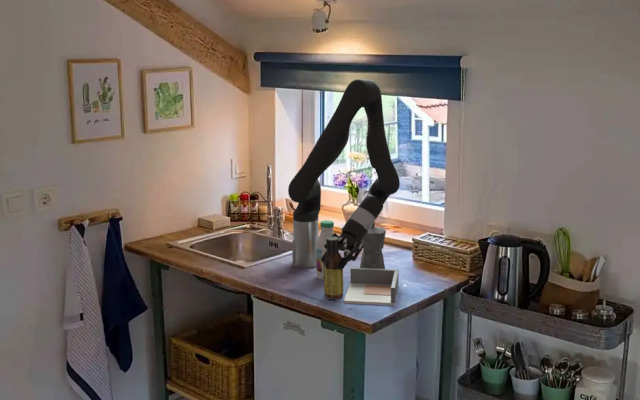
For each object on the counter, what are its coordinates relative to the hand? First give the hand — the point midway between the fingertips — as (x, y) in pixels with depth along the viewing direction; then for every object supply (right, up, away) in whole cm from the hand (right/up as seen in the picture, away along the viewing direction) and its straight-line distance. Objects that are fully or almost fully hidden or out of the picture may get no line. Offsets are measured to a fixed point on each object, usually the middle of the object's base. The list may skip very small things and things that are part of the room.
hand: (330, 265), depth 233 cm
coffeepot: (+15, -4, +29) cm, 33 cm away
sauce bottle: (+1, -11, +3) cm, 11 cm away
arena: (+13, -10, +5) cm, 17 cm away
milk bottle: (-1, -6, +22) cm, 23 cm away
